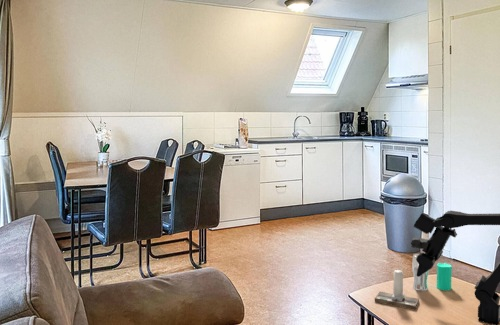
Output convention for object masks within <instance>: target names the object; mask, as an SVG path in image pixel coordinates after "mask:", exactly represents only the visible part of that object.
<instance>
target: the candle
mask: <svg viewBox="0 0 500 325" xmlns="http://www.w3.org/2000/svg"><path fill="white" fill-rule="evenodd" d="M436 266H437V267H436V289H438V290H440V291H451V290H452V271H453V268H452V267H453V266H452V265H451V264H450V263H446V262H445V261H444V263H443V262H442V263H441V262H438V263H437V264H436Z"/></svg>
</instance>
